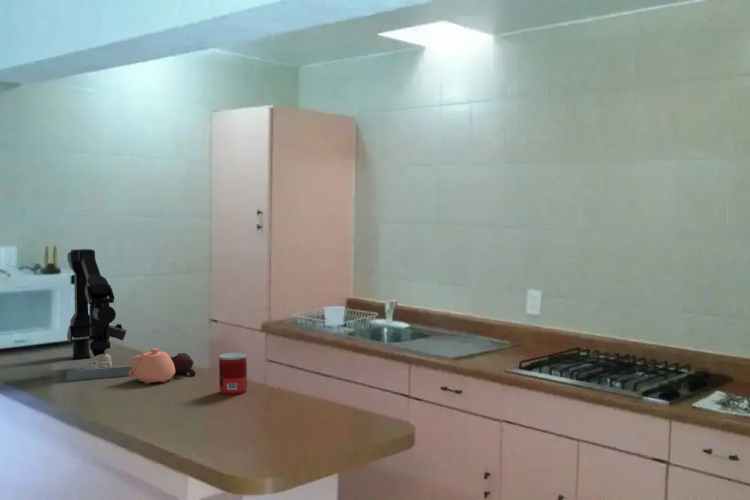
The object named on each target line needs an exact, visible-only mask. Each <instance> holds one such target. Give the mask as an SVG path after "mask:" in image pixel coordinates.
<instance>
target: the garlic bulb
mask: <svg viewBox="0 0 750 500" xmlns="http://www.w3.org/2000/svg"><path fill="white" fill-rule="evenodd" d="M108 352H109V349H106V350H105V353H104V354H101V355H98V356H95V357H94V356H93V357H91V358H90V360H89V363H88V364H89V365H88V367H89V369H96V368H108V367H113V362H112V356H111V355H110V354H108Z"/></svg>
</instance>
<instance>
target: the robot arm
mask: <svg viewBox="0 0 750 500" xmlns="http://www.w3.org/2000/svg"><path fill="white" fill-rule="evenodd" d="M66 255H67V256H66V258H67V263H68V265H69V266H68V267H69V268H70V269H71V271H72V272H73V276H74V283H73V284H74V314H73V315H72V317H71V319H70V323H69V326H68V330H67V334H66V337H67V338H66V339H67V342H69V343H72V355H71V360H79V359H92V354H93V357H95V356H98V355H101V354H104V353H105V351H107V350H109V349H111V340H110V339H111V338H115V339H118V340H119V341H124V340H125V337H126V333H127V330H126V329H125V328H123V326H122V324H120V323H116V324H115V325H110V324H111V323H112V322H114V320H115V319H116V317H117V316H116V315H117V313H116V311H115V309H114V308H113V307H111V306H110V304H114V303H115V294H114V292H113V288H112V287H111V284H109V282H108V280H107V278H105V277H104V276H102V275H101V272H100V269H99V265H98V264H97V260H96V251H95V250H94V249H89V248H82V249H70V251H69V252H68V253H67V254H66ZM90 351H91V352H92V353H91V352H90Z"/></svg>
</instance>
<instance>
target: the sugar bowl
mask: <svg viewBox="0 0 750 500" xmlns="http://www.w3.org/2000/svg"><path fill="white" fill-rule="evenodd" d="M135 359H139V360H138V361H137V364H136V365H134V360H135ZM130 366H132V369H133V370H130V371H129V375H130V377H135V378H136V379H137V380H138V381H139V382H144V384H145V385H148V384H151V383H157V382H158V383H159V382H160V383H167V382H168V380H171V379H173V377H174V375H175V374H176V373H175V366H174V363H173V361H172V360H171V358H170V355H169V354H168V353H167V352H166V351H161V350H160V351H159V348H157V347H156V348H155V347H154V348H150V351H148V352H143V353H142V354H141V355H134V356H132V357H131V359H130ZM131 372H133V374H131Z"/></svg>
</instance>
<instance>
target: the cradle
mask: <svg viewBox="0 0 750 500" xmlns="http://www.w3.org/2000/svg"><path fill="white" fill-rule="evenodd" d="M130 370H133V369H132V366H131V365H122V366H121V364H117V365H116V366H111V367H108V368H96V369H90V368H86V369H85V367H80V369H74V370H66V378H67V380H66V381H67V382H72V381H82V380H95V379H106V378H108V379H109V378H116V377H128V376H130V375H129V371H130ZM131 374H133V372H131ZM130 377H131V376H130Z"/></svg>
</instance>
